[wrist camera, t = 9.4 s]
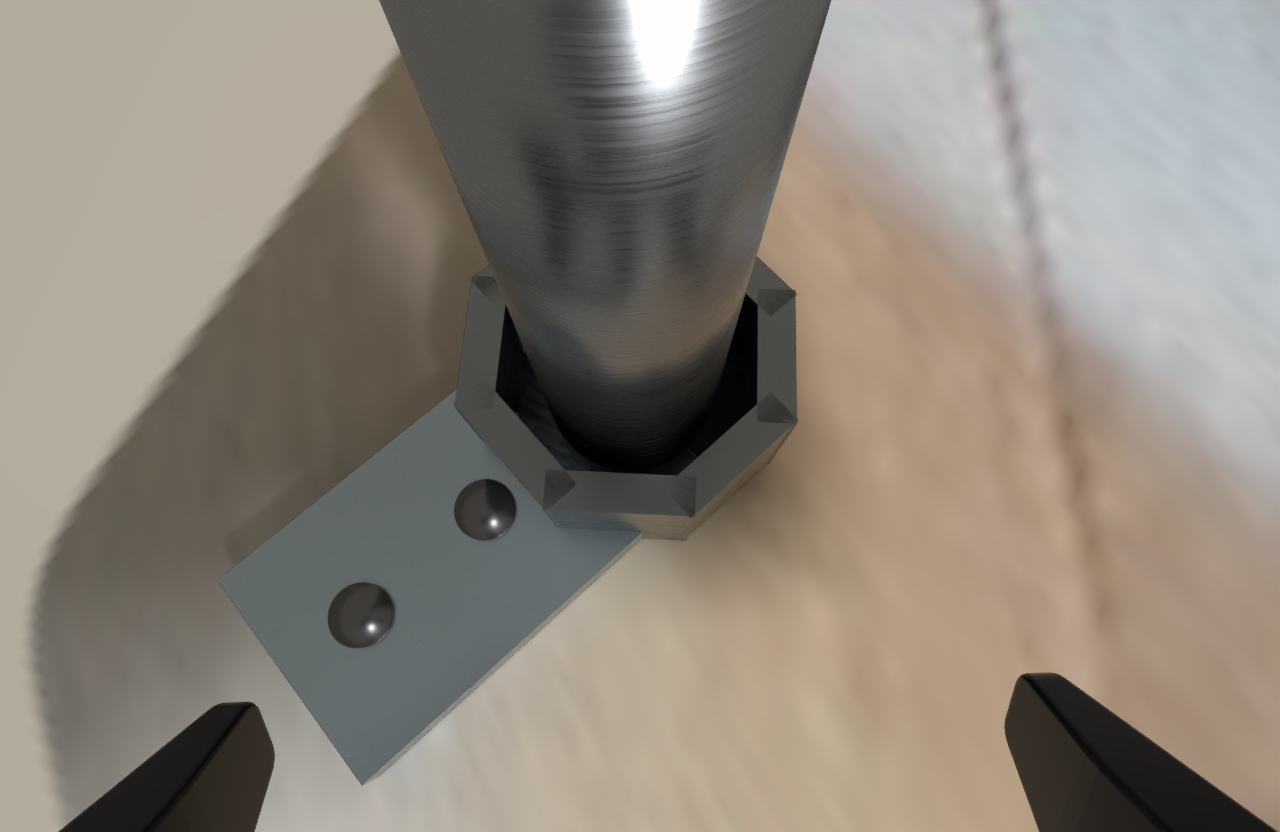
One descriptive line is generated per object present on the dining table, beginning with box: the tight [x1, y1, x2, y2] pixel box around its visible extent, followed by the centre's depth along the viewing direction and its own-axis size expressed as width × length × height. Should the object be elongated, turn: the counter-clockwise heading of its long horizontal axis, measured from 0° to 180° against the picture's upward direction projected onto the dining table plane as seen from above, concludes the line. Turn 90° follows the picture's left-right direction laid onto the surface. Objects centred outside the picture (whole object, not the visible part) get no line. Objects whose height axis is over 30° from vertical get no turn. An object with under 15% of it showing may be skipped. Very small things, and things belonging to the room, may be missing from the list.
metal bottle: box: [379, 0, 831, 470], centre depth 11 cm, size 4×4×14 cm
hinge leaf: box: [217, 256, 798, 785], centre depth 16 cm, size 14×7×4 cm, turn 132°
